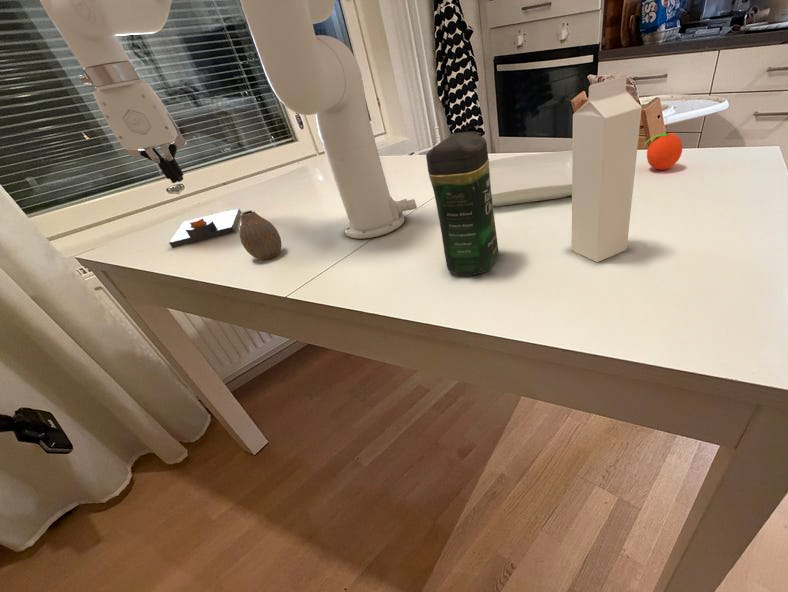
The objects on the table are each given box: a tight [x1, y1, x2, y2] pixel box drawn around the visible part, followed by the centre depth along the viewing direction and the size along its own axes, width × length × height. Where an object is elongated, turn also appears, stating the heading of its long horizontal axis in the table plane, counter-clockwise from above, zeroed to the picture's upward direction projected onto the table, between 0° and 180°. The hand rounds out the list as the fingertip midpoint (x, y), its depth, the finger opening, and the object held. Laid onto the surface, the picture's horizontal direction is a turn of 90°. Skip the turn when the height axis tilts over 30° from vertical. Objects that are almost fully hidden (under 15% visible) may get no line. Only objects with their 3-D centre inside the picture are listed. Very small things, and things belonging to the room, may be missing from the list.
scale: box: [168, 207, 243, 249], centre depth 98 cm, size 14×16×3 cm
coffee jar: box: [425, 131, 499, 276], centre depth 58 cm, size 10×8×19 cm
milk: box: [570, 75, 643, 263], centre depth 55 cm, size 6×6×22 cm
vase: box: [238, 210, 283, 261], centre depth 77 cm, size 7×7×9 cm
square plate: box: [489, 149, 573, 207], centre depth 88 cm, size 27×27×4 cm
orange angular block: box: [188, 217, 206, 228], centre depth 92 cm, size 3×3×2 cm
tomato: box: [643, 132, 683, 171], centre depth 84 cm, size 8×7×7 cm
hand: (178, 180), depth 85 cm, fingers closed
